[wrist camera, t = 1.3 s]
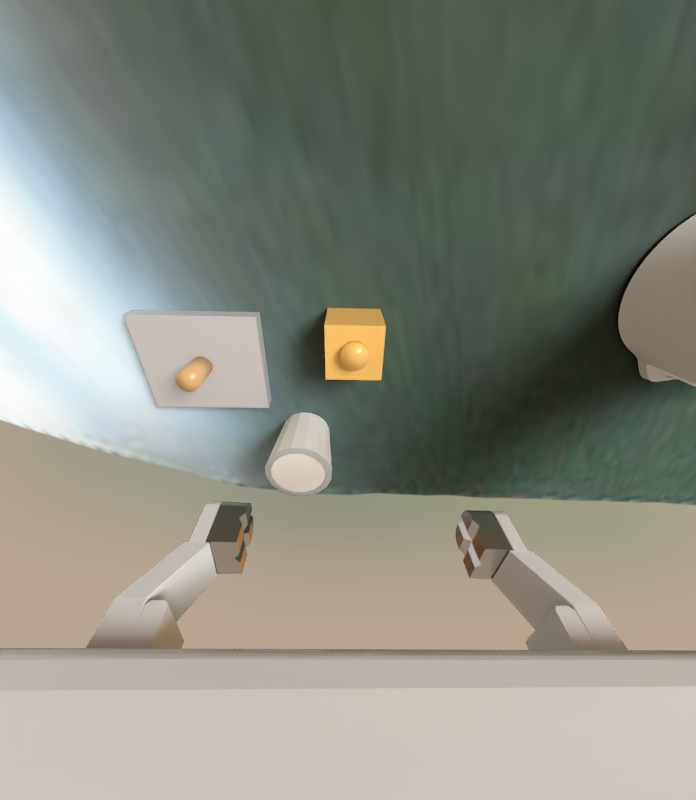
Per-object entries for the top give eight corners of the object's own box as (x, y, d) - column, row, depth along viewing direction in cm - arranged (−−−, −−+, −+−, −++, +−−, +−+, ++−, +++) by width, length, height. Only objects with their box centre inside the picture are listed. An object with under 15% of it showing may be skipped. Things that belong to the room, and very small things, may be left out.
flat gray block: (259, 312, 29) (244, 329, 25) (271, 400, 34) (261, 427, 30) (132, 309, 29) (95, 327, 25) (164, 399, 34) (138, 426, 30)
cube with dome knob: (380, 308, 29) (387, 329, 24) (376, 357, 32) (382, 384, 27) (327, 308, 29) (323, 328, 24) (328, 356, 31) (325, 383, 27)
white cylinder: (265, 423, 36) (250, 465, 30) (313, 398, 34) (306, 438, 28) (299, 460, 39) (291, 505, 33) (345, 438, 37) (345, 482, 31)
